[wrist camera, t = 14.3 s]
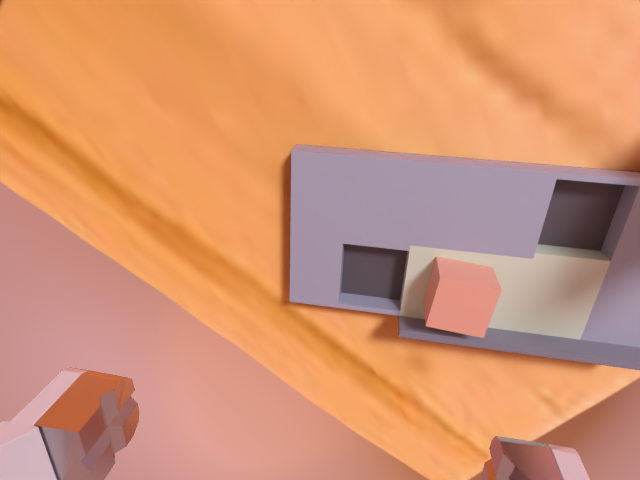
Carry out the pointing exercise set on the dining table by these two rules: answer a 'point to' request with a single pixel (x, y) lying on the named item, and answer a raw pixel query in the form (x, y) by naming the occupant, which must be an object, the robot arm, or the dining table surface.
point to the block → (461, 297)
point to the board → (473, 246)
